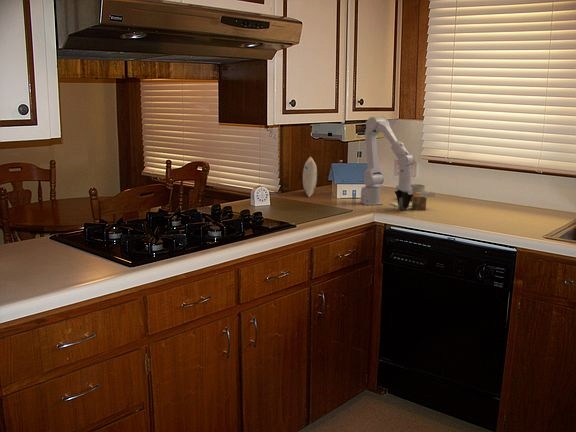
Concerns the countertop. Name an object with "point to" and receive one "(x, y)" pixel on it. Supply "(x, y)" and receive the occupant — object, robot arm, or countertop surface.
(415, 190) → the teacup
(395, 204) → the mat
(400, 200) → the plug
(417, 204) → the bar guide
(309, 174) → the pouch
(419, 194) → the steel bar
